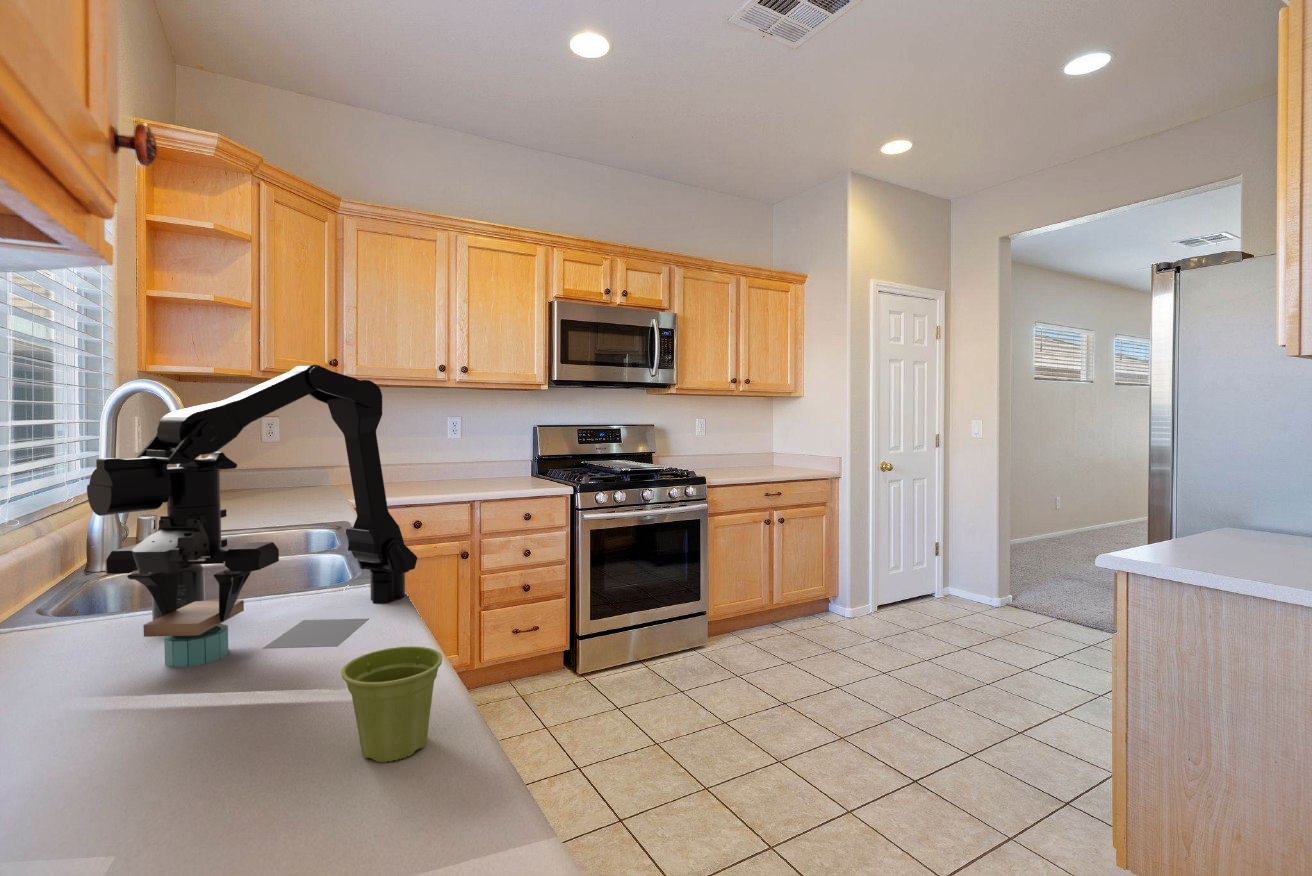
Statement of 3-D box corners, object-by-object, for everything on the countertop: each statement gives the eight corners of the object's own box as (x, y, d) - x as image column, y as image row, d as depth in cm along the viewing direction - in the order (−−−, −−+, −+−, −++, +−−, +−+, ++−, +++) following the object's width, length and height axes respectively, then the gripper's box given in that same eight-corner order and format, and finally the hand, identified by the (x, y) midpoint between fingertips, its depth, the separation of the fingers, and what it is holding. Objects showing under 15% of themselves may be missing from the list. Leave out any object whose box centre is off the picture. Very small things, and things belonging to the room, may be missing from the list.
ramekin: (187, 656, 87) (186, 624, 87) (239, 655, 88) (238, 623, 87) (152, 676, 80) (151, 642, 80) (208, 674, 81) (208, 640, 81)
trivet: (303, 627, 99) (303, 620, 99) (369, 625, 100) (369, 618, 100) (262, 656, 87) (262, 648, 87) (337, 654, 88) (337, 646, 88)
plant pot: (339, 783, 57) (338, 689, 57) (345, 735, 66) (344, 653, 65) (447, 761, 61) (446, 673, 61) (439, 718, 69) (438, 640, 69)
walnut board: (195, 611, 88) (195, 601, 88) (243, 610, 89) (243, 600, 89) (143, 636, 78) (143, 624, 78) (198, 635, 79) (198, 623, 79)
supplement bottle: (216, 616, 104) (214, 545, 104) (181, 630, 97) (179, 554, 97) (178, 615, 105) (176, 544, 104) (140, 629, 98) (138, 553, 98)
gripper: (67, 515, 74) (71, 645, 75) (232, 513, 76) (235, 640, 76) (136, 502, 85) (139, 615, 86) (279, 501, 87) (282, 612, 88)
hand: (197, 621), depth 84 cm, fingers closed on walnut board, 6 cm apart
